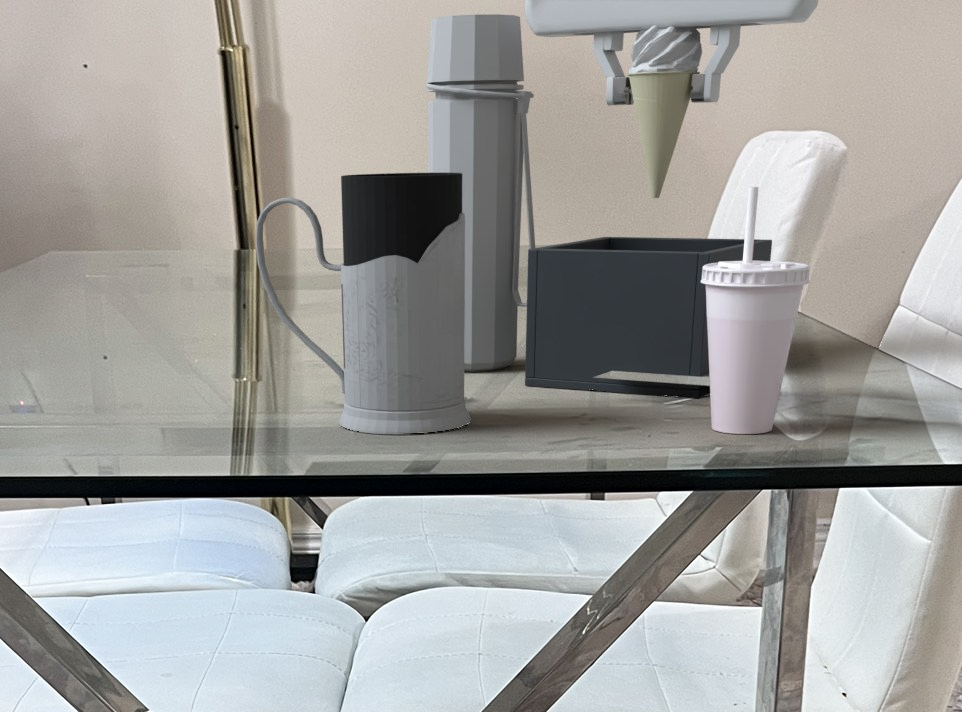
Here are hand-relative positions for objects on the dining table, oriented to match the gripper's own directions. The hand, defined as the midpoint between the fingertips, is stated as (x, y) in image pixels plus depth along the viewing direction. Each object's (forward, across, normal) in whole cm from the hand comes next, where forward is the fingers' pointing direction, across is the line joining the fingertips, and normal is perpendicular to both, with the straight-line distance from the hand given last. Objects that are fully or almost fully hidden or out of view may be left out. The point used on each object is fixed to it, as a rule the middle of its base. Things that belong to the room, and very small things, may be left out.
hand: (661, 104), depth 99 cm
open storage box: (+19, 0, 0) cm, 19 cm away
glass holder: (+19, +10, +24) cm, 32 cm away
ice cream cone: (+6, 0, 0) cm, 6 cm away
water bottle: (+19, +14, 0) cm, 24 cm away
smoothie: (+19, -13, +16) cm, 28 cm away
